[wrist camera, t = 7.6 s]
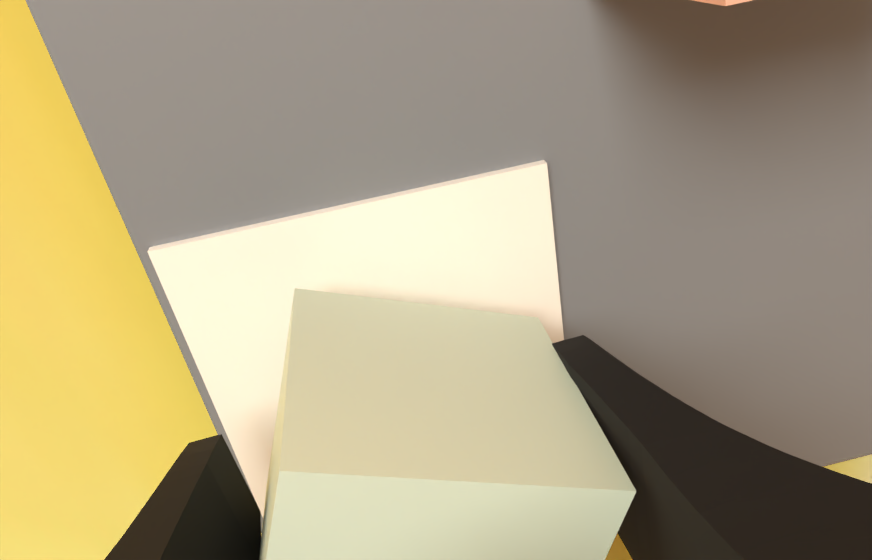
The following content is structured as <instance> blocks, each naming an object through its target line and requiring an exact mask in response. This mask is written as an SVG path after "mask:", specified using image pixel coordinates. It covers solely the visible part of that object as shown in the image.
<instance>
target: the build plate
mask: <svg viewBox="0 0 872 560" xmlns="http://www.w3.org/2000/svg"><path fill="white" fill-rule="evenodd" d="M26 2H27V4H28V7H29V9H30V11H31V14H32V16H33V18H34V20H35V23H36V25H37V27H38V29H39V32H40V34H41V36H42V38H43V41H44V43H45V45H46V47H47V50H48V52H49V54H50V56H51V59H52V61H53V63H54V65H55V68H56V70H57V72H58V74H59V77H60V79H61V81H62V84H63V86H64V88H65V90H66V93H67V95H68V97H69V99H70V102H71V104H72V106H73V108H74V111H75V113H76V115H77V117H78V120H79V122H80V124H81V126H82V129H83V131H84V133H85V135H86V138H87V140H88V142H89V144H90V147H91V149H92V151H93V153H94V156H95V158H96V160H97V163H98V165H99V167H100V169H101V172H102V174H103V176H104V178H105V181H106V183H107V185H108V187H109V190H110V192H111V194H112V196H113V199H114V201H115V203H116V205H117V208H118V210H119V212H120V214H121V217H122V219H123V221H124V223H125V226H126V228H127V230H128V233H129V235H130V237H131V239H132V242H133V244H134V246H135V248H136V251H137V253H138V255H139V257H140V260H141V262H142V264H143V266H144V269H145V271H146V273H147V275H148V278H149V280H150V282H151V284H152V287H153V289H154V291H155V293H156V296H157V298H158V300H159V302H160V305H161V307H162V309H163V312H164V314H165V316H166V318H167V321H168V323H169V325H170V327H171V330H172V332H173V334H174V336H175V339H176V341H177V343H178V345H179V348H180V350H181V352H182V354H183V357H184V359H185V361H186V363H187V366H188V368H189V370H190V372H191V375H192V377H193V379H194V382H195V384H196V386H197V388H198V391H199V393H200V395H201V397H202V400H203V402H204V404H205V406H206V409H207V411H208V413H209V415H210V418H211V420H212V422H213V424H214V427H215V429H216V431H217V433H218V435H220V434H222V436H223V438H224V440H225V442H226V444H227V446H228V448H229V450H230V452H231V454H232V456H233V458H234V460H235V462H236V464H237V466H238V468H239V470H240V472H241V474H242V476H243V478H244V480H245V482H246V483H247V485H248V487H249V489H250V491H251V493H252V495H253V497H254V499H255V501H256V503H257V505H258V507H259V509H260V511H261V533H262V526H263V516H264V507H265V497H266V487H267V480H268V473H269V466H270V458H271V451H272V444H273V437H274V430H275V423H276V416H277V409H278V402H279V395H280V388H281V381H282V374H283V367H284V360H285V353H286V345H287V338H288V331H289V324H290V317H291V310H292V303H293V296H294V289H295V288H298V289H306V290H314V291H323V292H331V293H339V294H348V295H356V296H364V297H372V298H381V299H389V300H397V301H406V302H414V303H422V304H431V305H439V306H447V307H455V308H464V309H472V310H480V311H489V312H497V313H505V314H514V315H522V316H530V317H538V318H539V320H540V321H541V323H542V325H543V327H544V328H545V330H546V332H547V334H548V336H549V337H550V339H551V341H552V343H556V342H559V341H563V340H566V339H570V338H574V337H577V336H581V335H584V336H586V337H588V338H589V339H591V340H592V341H593V342H595V343H596V344H598V345H599V346H600V347H602V348H603V349H604V350H606V351H607V352H608V353H610V354H611V355H613V356H614V357H615V358H617V359H618V360H620V361H621V362H622V363H624V364H625V365H627V366H628V367H630V368H631V369H633V370H634V371H635V372H637V373H638V374H640V375H641V376H643V377H644V378H646V379H647V380H649V381H651V382H652V383H654V384H655V385H657V386H658V387H660V388H661V389H663V390H665V391H666V392H668V393H669V394H671V395H672V396H674V397H676V398H677V399H679V400H681V401H682V402H684V403H686V404H687V405H689V406H691V407H693V408H694V409H696V410H698V411H700V412H702V413H703V414H705V415H707V416H709V417H710V418H712V419H714V420H716V421H718V422H720V423H722V424H724V425H726V426H728V427H730V428H732V429H734V430H736V431H738V432H740V433H742V434H745V435H747V436H749V437H751V438H753V439H755V440H757V441H760V442H762V443H764V444H766V445H768V446H771V447H773V448H775V449H778V450H780V451H783V452H785V453H787V454H790V455H792V456H795V457H798V458H800V459H803V460H806V461H808V462H811V463H813V464H816V465H819V466H821V467H823V466H827V465H831V464H834V463H838V462H842V461H846V460H850V459H854V458H858V457H862V456H866V455H870V454H872V0H752V1H747V2H743V3H738V4H733V5H728V6H722V5H716V4H710V3H704V2H698V1H692V0H26Z"/></svg>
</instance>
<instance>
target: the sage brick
mask: <svg viewBox="0 0 872 560" xmlns="http://www.w3.org/2000/svg"><path fill="white" fill-rule="evenodd" d="M635 494H636V489H635V488H634V486H633V484H632V482H631V481H630V479H629V477H628V475H627V473H626V472H625V470H624V468H623V466H622V465H621V463H620V461H619V459H618V458H617V456H616V454H615V452H614V450H613V449H612V447H611V445H610V443H609V442H608V440H607V438H606V436H605V435H604V433H603V431H602V429H601V427H600V426H599V424H598V422H597V420H596V419H595V417H594V415H593V413H592V412H591V410H590V408H589V406H588V405H587V403H586V401H585V399H584V397H583V396H582V394H581V392H580V390H579V389H578V387H577V385H576V384H575V383H574V381H573V380H572V378H571V377H570V375H569V374H568V372H567V370H566V368H565V366H564V365H563V363H562V361H561V359H560V358H559V356H558V354H557V352H556V351H555V349H554V347H553V345H552V341H551V339H550V337H549V336H548V334H547V332H546V330H545V328H544V327H543V325H542V323H541V321H540V320H539V318H538V317H530V316H522V315H514V314H505V313H497V312H489V311H480V310H472V309H464V308H455V307H447V306H439V305H431V304H422V303H414V302H406V301H397V300H389V299H381V298H372V297H364V296H356V295H348V294H339V293H331V292H323V291H314V290H306V289H298V288H295V289H294V296H293V303H292V310H291V317H290V324H289V331H288V338H287V345H286V353H285V360H284V367H283V374H282V381H281V388H280V395H279V402H278V409H277V416H276V423H275V430H274V437H273V444H272V451H271V458H270V466H269V473H268V480H267V487H266V497H265V507H264V516H263V526H262V535H261V546H260V556H259V560H605V558H606V556H607V554H608V552H609V550H610V548H611V545H612V543H613V541H614V539H615V537H616V535H617V532H618V530H619V528H620V526H621V524H622V522H623V520H624V517H625V515H626V513H627V511H628V509H629V507H630V504H631V502H632V500H633V498H634V496H635Z"/></svg>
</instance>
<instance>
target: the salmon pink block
mask: <svg viewBox="0 0 872 560" xmlns="http://www.w3.org/2000/svg"><path fill="white" fill-rule="evenodd" d="M692 1H698V2H704V3H710V4H716V5H722V6H728V5H733V4H738V3H743V2H747V1H752V0H692Z"/></svg>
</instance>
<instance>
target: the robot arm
mask: <svg viewBox="0 0 872 560" xmlns="http://www.w3.org/2000/svg"><path fill="white" fill-rule="evenodd" d="M552 345H553V347H554V349H555V351H556V352H557V354H558V356H559V358H560V359H561V361H562V363H563V365H564V366H565V368H566V370H567V372H568V374H569V375H570V377H571V378H572V380H573V381H574V383H575V384H576V385H577V387H578V389H579V390H580V392H581V394H582V396H583V397H584V399H585V401H586V403H587V405H588V406H589V408H590V410H591V412H592V413H593V415H594V417H595V419H596V420H597V422H598V424H599V426H600V427H601V429H602V431H603V433H604V435H605V436H606V438H607V440H608V442H609V443H610V445H611V447H612V449H613V450H614V452H615V454H616V456H617V458H618V459H619V461H620V463H621V465H622V466H623V468H624V470H625V472H626V473H627V475H628V477H629V479H630V481H631V482H632V484H633V486H634V488H635V489H636V494H635V496H634V498H633V500H632V502H631V504H630V507H629V509H628V511H627V513H626V515H625V517H624V520H623V522H622V524H621V526H620V528H619V530H618V534H619V536H620V538H621V540H622V541H623V543H624V545H625V547H626V548H627V550H628V552H629V554H630V555H631V557H632V559H633V560H872V484H871V483H868V482H864V481H861V480H858V479H855V478H852V477H850V476H847V475H844V474H841V473H838V472H835V471H832V470H829V469H827V468H824V467H821V466H819V465H816V464H813V463H811V462H808V461H806V460H803V459H800V458H798V457H795V456H792V455H790V454H787V453H785V452H783V451H780V450H778V449H775V448H773V447H771V446H768V445H766V444H764V443H762V442H760V441H757V440H755V439H753V438H751V437H749V436H747V435H745V434H742V433H740V432H738V431H736V430H734V429H732V428H730V427H728V426H726V425H724V424H722V423H720V422H718V421H716V420H714V419H712V418H710V417H709V416H707V415H705V414H703V413H702V412H700V411H698V410H696V409H694V408H693V407H691V406H689V405H687V404H686V403H684V402H682V401H681V400H679V399H677V398H676V397H674V396H672V395H671V394H669V393H668V392H666V391H665V390H663V389H661V388H660V387H658V386H657V385H655V384H654V383H652V382H651V381H649V380H647V379H646V378H644V377H643V376H641V375H640V374H638V373H637V372H635V371H634V370H633V369H631V368H630V367H628V366H627V365H625V364H624V363H622V362H621V361H620V360H618V359H617V358H615V357H614V356H613V355H611V354H610V353H608V352H607V351H606V350H604V349H603V348H602V347H600V346H599V345H598V344H596V343H595V342H593V341H592V340H591V339H589V338H588V337H586V336H584V335H581V336H577V337H574V338H570V339H566V340H563V341H559V342H556V343H552ZM260 546H261V511H260V509H259V507H258V505H257V503H256V501H255V499H254V497H253V495H252V493H251V491H250V489H249V487H248V485H247V483H246V482H245V480H244V478H243V476H242V474H241V472H240V470H239V468H238V466H237V464H236V462H235V460H234V458H233V456H232V454H231V452H230V450H229V448H228V446H227V444H226V442H225V440H224V438H223V436H222V434H220V435H217V436H213V437H209V438H206V439H202V440H198V441H195V442H191V443H189V444H188V445H187V446H186V448H185V449H184V450H183V452H182V453H181V454H180V456H179V457H178V459H177V460H176V461H175V463H174V464H173V466H172V467H171V469H170V470H169V471H168V473H167V474H166V476H165V477H164V479H163V480H162V481H161V483H160V484H159V486H158V487H157V489H156V490H155V492H154V493H153V494H152V496H151V497H150V499H149V500H148V501H147V503H146V504H145V506H144V507H143V508H142V510H141V511H140V513H139V514H138V515H137V517H136V518H135V520H134V521H133V522H132V524H131V525H130V527H129V528H128V529H127V531H126V532H125V534H124V535H123V536H122V538H121V539H120V540H119V542H118V543H117V544H116V545H115V547H114V548H113V549H112V551H111V552H110V553H109V554H108V556H107V557H106V558H105V560H259V556H260Z"/></svg>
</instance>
